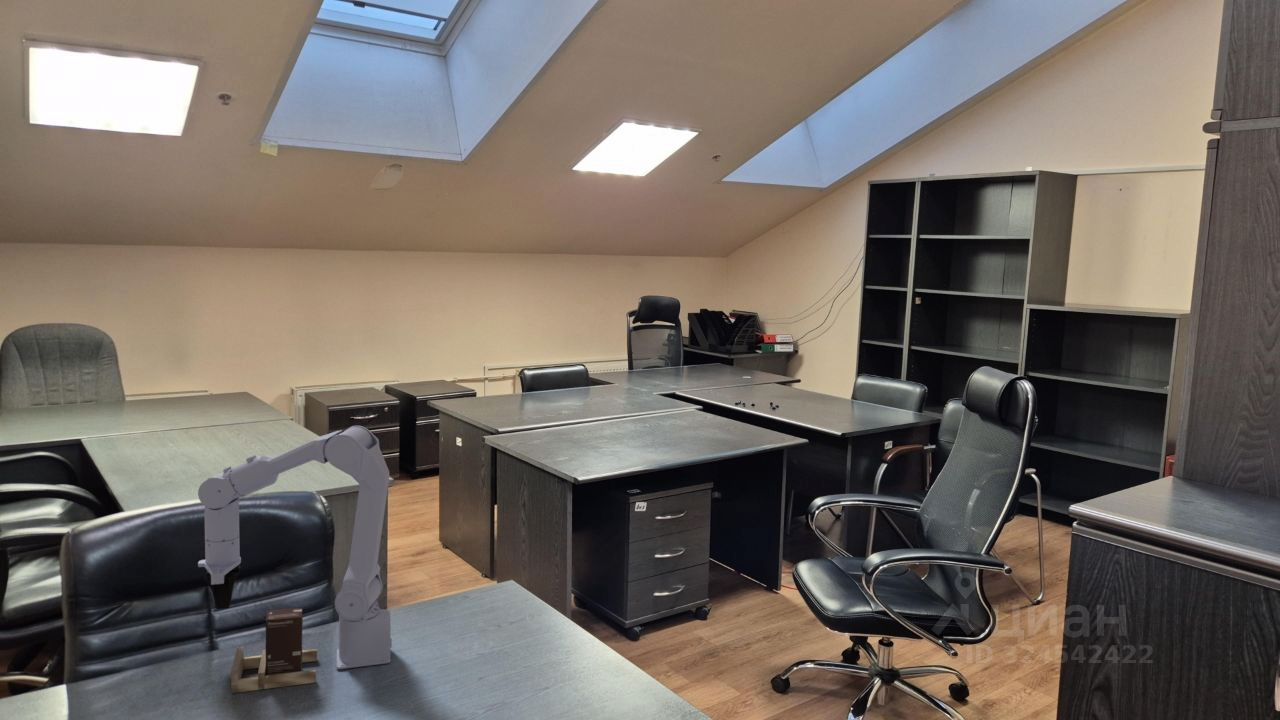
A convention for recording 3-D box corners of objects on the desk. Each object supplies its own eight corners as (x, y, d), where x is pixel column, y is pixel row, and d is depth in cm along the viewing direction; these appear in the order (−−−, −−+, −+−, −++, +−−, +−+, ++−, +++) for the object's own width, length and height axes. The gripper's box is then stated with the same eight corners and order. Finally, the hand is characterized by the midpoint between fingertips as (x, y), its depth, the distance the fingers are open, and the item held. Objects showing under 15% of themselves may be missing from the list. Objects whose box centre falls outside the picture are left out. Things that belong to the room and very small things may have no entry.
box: (265, 685, 142) (264, 619, 141) (267, 673, 146) (266, 609, 145) (302, 680, 144) (302, 615, 143) (303, 668, 148) (303, 605, 147)
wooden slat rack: (317, 658, 152) (316, 638, 152) (315, 682, 143) (315, 660, 143) (237, 668, 147) (237, 647, 147) (231, 693, 139) (231, 671, 138)
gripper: (204, 526, 155) (205, 594, 157) (191, 551, 142) (192, 625, 143) (244, 524, 158) (245, 591, 159) (235, 548, 144) (236, 621, 146)
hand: (223, 607), depth 151 cm, fingers closed
